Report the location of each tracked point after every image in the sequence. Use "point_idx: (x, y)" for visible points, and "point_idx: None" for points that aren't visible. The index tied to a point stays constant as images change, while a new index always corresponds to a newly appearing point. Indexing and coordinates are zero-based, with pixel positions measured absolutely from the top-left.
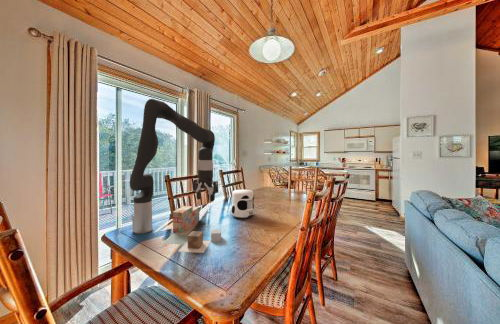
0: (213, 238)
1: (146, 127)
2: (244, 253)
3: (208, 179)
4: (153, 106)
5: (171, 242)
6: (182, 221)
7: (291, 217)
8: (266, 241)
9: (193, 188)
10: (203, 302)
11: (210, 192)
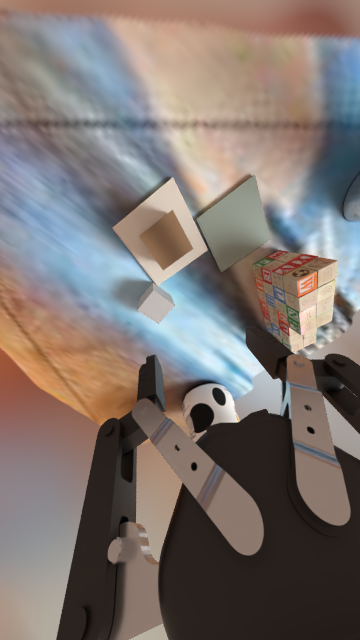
0: (149, 290)
1: None
2: (52, 302)
3: None
4: None
5: (233, 201)
6: (274, 272)
7: None
8: (76, 362)
9: (357, 369)
10: None
11: (154, 411)
